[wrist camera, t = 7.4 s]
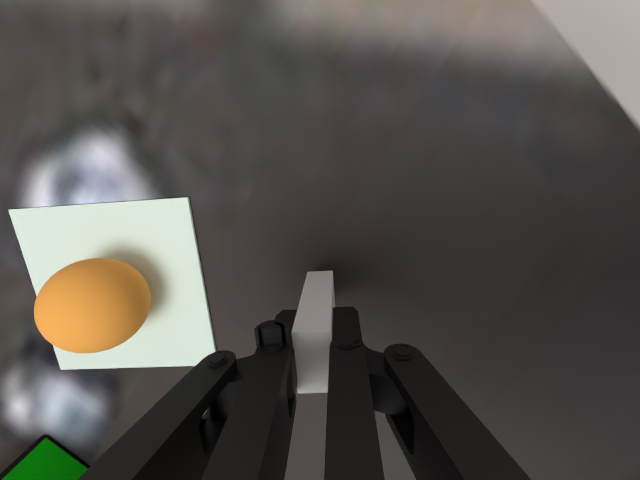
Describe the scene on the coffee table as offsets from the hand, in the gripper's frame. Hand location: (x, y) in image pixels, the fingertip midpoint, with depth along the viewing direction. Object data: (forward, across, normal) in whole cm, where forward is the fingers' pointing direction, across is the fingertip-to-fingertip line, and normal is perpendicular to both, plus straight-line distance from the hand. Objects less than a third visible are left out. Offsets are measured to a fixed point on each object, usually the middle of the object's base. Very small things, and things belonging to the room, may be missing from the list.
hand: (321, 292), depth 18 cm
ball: (-1, +13, 0) cm, 13 cm away
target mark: (+2, +14, 0) cm, 14 cm away
